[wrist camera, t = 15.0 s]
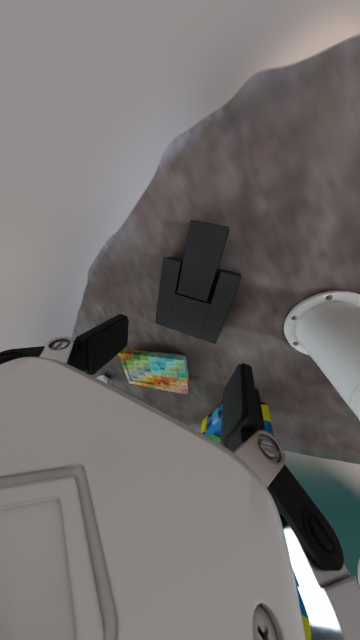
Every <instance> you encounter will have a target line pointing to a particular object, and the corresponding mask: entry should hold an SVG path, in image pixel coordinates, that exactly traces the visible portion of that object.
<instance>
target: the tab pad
mask: <svg viewBox="0 0 360 640" xmlns="http://www.w3.org/2000/svg"><path fill="white" fill-rule="evenodd" d="M228 234H229V227H227V226H221V225H216V224H211V223H205V222H200V221H195V220H191V222H190V227H189V232H188V238H187V243H186V248H185V254H184V259H183V264H182V269H181V275H180V280H179V285H178V291H177V293H179V294H182V295H186V296H189V297H193V298H196V299H200V300H203V301H206V302H207V300H208V298H209V296H210V293H211V290H212V286H213V283H214V280H215V276H216V273H217V270H218V267H219V263H220V260H221V257H222V253H223V250H224V247H225V244H226V240H227V237H228Z"/></svg>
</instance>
